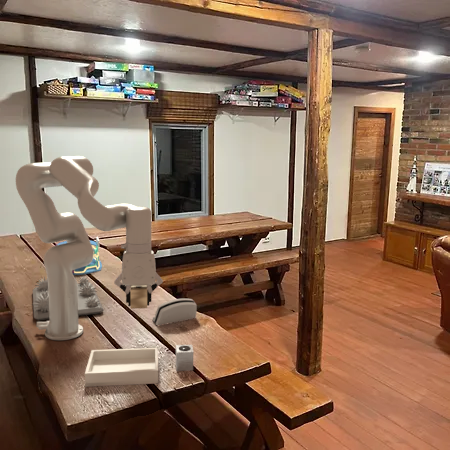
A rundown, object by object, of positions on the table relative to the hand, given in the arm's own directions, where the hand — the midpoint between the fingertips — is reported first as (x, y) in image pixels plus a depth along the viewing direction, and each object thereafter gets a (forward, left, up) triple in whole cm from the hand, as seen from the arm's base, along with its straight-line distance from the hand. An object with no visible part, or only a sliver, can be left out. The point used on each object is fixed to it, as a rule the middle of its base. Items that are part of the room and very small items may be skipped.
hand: (138, 303), depth 141 cm
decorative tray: (-31, +49, -18) cm, 61 cm away
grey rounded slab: (+13, +27, -18) cm, 35 cm away
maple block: (0, 0, -1) cm, 1 cm away
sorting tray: (-4, -10, -18) cm, 21 cm away
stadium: (-35, +105, -18) cm, 112 cm away
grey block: (+14, -8, -18) cm, 24 cm away
